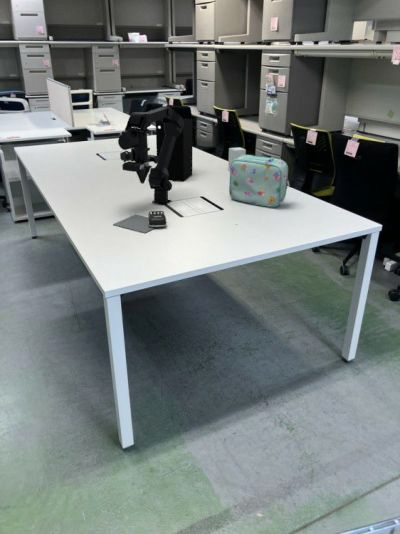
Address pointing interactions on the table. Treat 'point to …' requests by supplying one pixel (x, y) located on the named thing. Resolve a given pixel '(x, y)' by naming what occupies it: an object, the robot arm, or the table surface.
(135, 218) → the mat
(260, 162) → the lunch box
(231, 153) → the supplement box
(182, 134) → the video game console
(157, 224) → the battery charger
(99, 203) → the table surface
